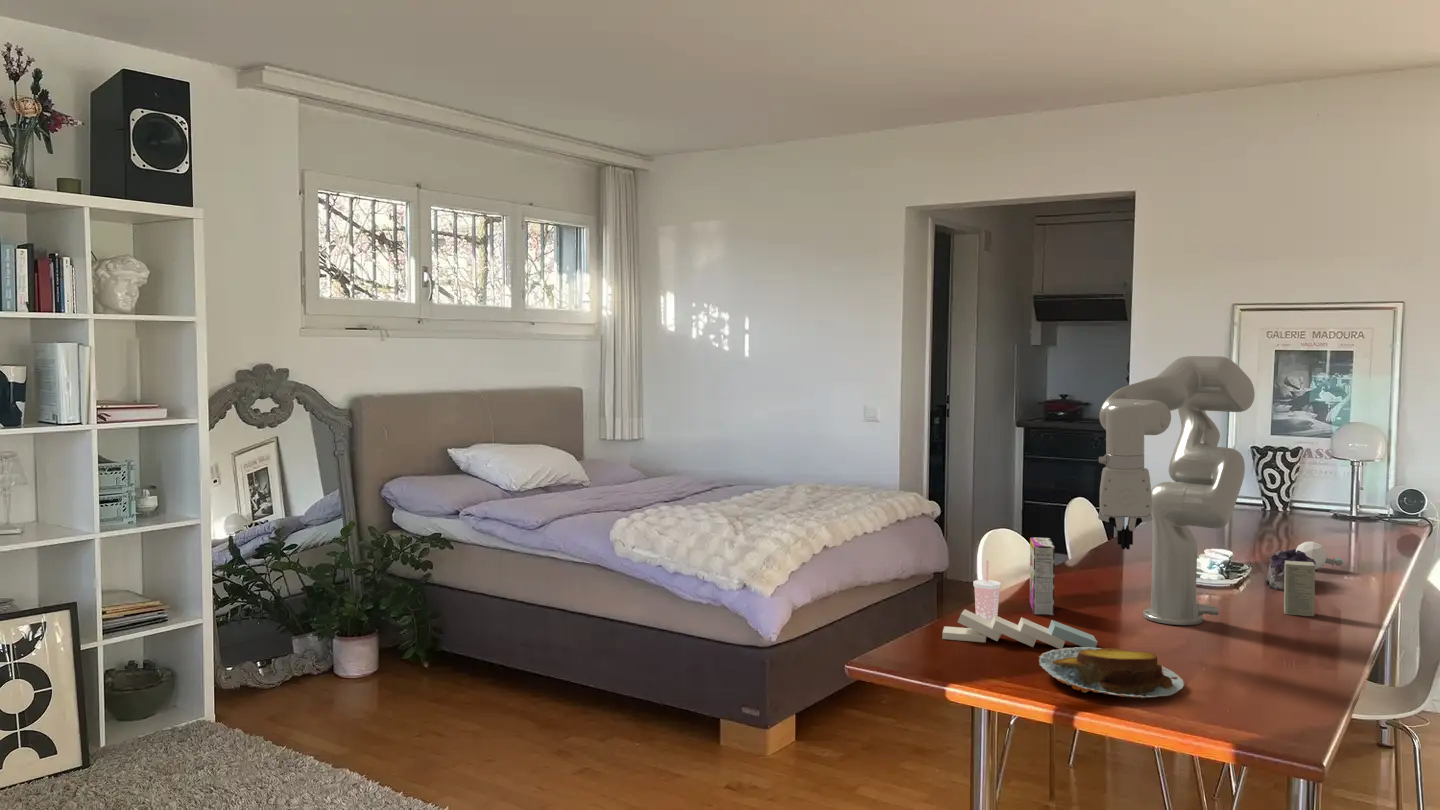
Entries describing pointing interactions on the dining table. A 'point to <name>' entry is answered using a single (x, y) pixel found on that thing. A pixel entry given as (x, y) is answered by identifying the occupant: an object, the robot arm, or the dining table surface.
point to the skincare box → (1299, 588)
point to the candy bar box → (1042, 576)
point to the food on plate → (1111, 671)
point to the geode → (1283, 566)
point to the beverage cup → (986, 597)
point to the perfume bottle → (1317, 554)
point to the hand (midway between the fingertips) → (1125, 547)
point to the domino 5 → (1072, 635)
